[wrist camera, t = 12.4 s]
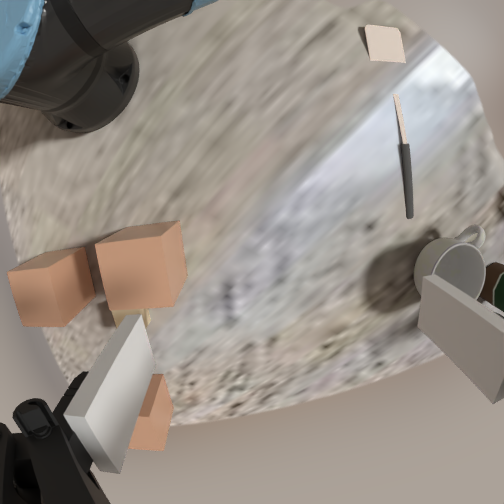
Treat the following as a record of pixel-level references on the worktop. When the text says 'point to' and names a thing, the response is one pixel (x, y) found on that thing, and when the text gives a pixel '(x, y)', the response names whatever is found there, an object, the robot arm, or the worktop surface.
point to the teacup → (454, 262)
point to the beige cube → (120, 314)
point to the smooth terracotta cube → (143, 266)
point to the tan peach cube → (153, 417)
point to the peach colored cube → (52, 287)
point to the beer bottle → (494, 285)
